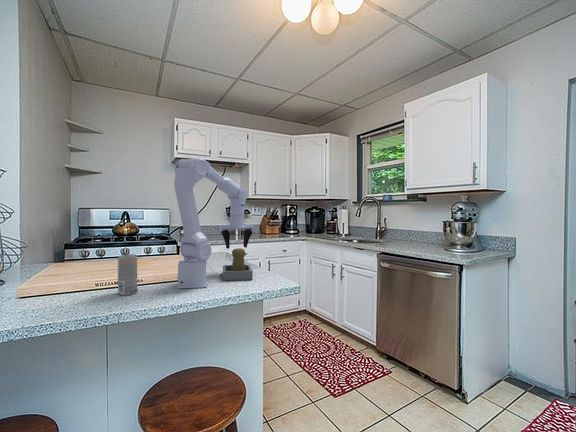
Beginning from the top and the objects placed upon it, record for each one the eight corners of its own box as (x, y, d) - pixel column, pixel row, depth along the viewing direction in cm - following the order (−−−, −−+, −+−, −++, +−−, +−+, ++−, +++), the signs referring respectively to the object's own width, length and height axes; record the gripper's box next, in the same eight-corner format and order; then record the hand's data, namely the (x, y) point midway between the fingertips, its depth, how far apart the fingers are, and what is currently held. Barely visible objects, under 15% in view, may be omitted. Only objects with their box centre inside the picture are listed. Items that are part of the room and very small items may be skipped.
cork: (245, 278, 110) (246, 250, 109) (229, 278, 109) (230, 249, 108) (246, 274, 116) (246, 247, 115) (231, 274, 115) (231, 247, 114)
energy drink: (134, 289, 94) (134, 253, 94) (139, 293, 91) (139, 256, 90) (116, 292, 91) (115, 255, 90) (120, 297, 87) (120, 258, 86)
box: (222, 281, 107) (223, 271, 106) (222, 273, 117) (222, 265, 117) (252, 280, 109) (252, 271, 109) (249, 272, 120) (249, 264, 120)
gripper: (223, 216, 112) (222, 250, 112) (257, 215, 119) (256, 248, 120) (217, 215, 118) (217, 247, 118) (250, 214, 125) (249, 245, 126)
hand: (236, 247), depth 119 cm, fingers open, 7 cm apart
